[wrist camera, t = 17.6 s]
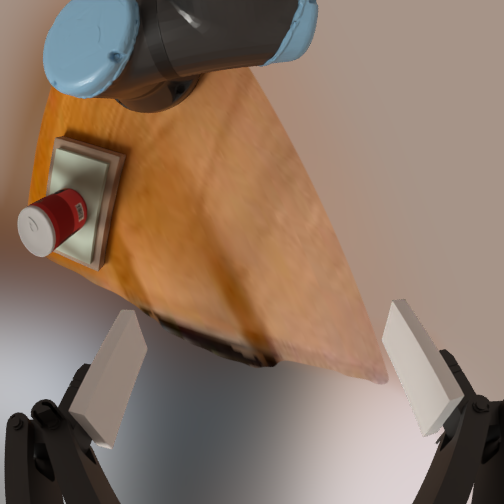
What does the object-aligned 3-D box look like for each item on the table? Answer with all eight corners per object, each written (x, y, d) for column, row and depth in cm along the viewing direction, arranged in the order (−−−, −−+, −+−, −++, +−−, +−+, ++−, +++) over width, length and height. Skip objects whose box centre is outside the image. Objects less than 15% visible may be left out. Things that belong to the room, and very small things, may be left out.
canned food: (66, 177, 41) (26, 195, 31) (96, 208, 43) (61, 233, 33) (48, 209, 43) (11, 232, 33) (76, 238, 46) (43, 266, 36)
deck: (63, 136, 41) (52, 138, 38) (126, 154, 43) (117, 158, 40) (49, 241, 50) (40, 248, 47) (103, 265, 52) (96, 274, 49)
